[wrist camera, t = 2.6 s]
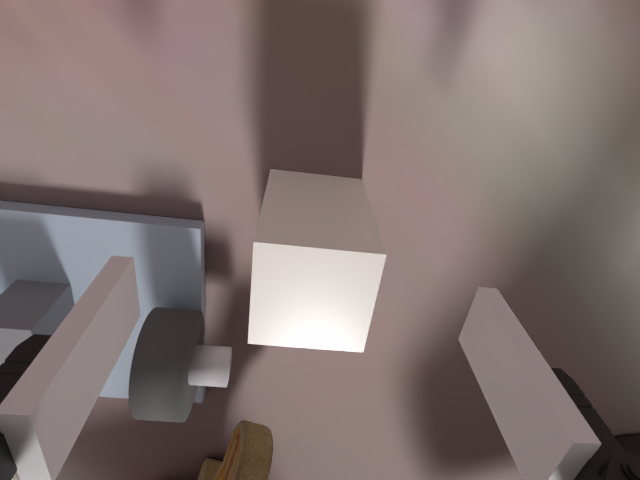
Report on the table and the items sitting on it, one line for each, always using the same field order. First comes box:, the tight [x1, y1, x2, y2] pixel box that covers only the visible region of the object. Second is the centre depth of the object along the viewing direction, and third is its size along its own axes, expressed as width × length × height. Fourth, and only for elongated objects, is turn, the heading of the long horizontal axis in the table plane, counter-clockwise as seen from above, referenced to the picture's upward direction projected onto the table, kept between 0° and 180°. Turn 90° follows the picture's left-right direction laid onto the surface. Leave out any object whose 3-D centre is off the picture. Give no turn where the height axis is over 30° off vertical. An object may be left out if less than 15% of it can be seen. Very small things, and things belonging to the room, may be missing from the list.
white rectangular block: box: [248, 169, 386, 352], centre depth 20 cm, size 5×5×8 cm
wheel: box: [128, 307, 232, 423], centre depth 23 cm, size 4×6×6 cm
